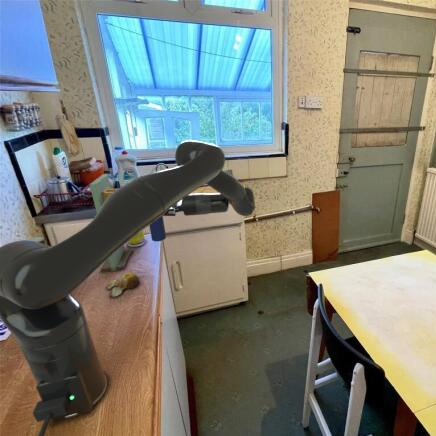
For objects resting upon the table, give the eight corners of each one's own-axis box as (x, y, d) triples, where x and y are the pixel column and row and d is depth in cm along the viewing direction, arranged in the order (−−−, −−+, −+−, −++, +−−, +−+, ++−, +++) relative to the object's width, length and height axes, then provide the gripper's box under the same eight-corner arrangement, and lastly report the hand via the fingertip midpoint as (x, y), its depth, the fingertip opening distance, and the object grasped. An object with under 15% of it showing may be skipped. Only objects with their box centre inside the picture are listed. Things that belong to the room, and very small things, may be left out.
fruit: (106, 284, 88) (104, 274, 87) (136, 275, 93) (133, 266, 92) (111, 298, 83) (109, 288, 81) (142, 288, 88) (140, 278, 86)
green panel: (144, 250, 108) (129, 173, 96) (137, 268, 97) (119, 183, 86) (112, 254, 105) (92, 174, 93) (101, 272, 95) (77, 184, 83)
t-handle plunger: (154, 234, 104) (143, 174, 96) (167, 233, 106) (158, 174, 97) (150, 244, 97) (138, 180, 89) (164, 243, 98) (154, 180, 90)
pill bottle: (128, 241, 114) (122, 216, 110) (145, 238, 117) (140, 213, 113) (127, 248, 109) (121, 222, 105) (145, 245, 112) (140, 219, 107)
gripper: (197, 188, 105) (146, 190, 101) (195, 200, 92) (138, 204, 88) (199, 207, 108) (150, 210, 104) (198, 221, 95) (142, 226, 91)
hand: (145, 207), depth 96 cm, fingers closed on t-handle plunger, 4 cm apart
